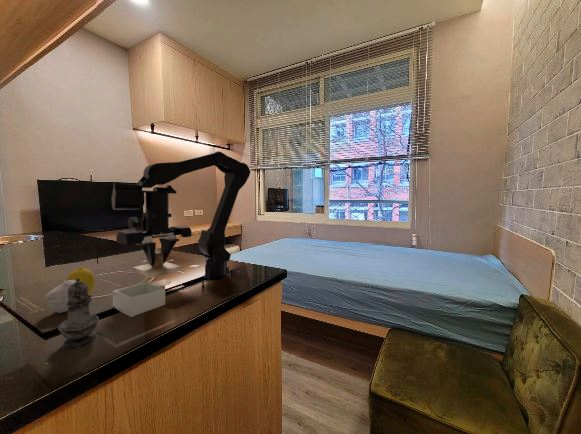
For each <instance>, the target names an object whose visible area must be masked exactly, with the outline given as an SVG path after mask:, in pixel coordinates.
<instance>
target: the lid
mask: <svg viewBox="0 0 581 434" xmlns="http://www.w3.org/2000/svg"><path fill="white" fill-rule="evenodd" d="M180 271H182V266H181V265H178V264H176V263H175V264H174V263H172V262H168V261H166V262H165V263H164V264H163V252H161V251H155V260H154V265H153V266H150V264H149V263H147V264H146V263H145V264H142V265H137V266H132V273H135V274H139V275H141V276H144V277H147V278H149V279H153V278H158V277H161V276H164V275H168V274H172V273H176V272H177V273H178V272H180Z"/></svg>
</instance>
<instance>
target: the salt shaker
mask: <svg viewBox="0 0 581 434" xmlns="http://www.w3.org/2000/svg"><path fill="white" fill-rule="evenodd" d="M79 280H80V279H79V278H77V279H76V280H75V281H76V282H75V283H73V284H72V285H70V286H69V287H68V303H66V306H67V307H68V312H67V318H66V320H63V321H62V322H61V323H60V324H58V326H57V330H58V331H59V332H60V334H61V336H62V337H63V338H64V339H65V340H63V341H62V342H61V343H60V348H61V349H63V350H76V349H81V348H84V347H86V346H90V345H91V344H92V343H94V342H96V341H97V339H98V337H99V336H98V334H97V333H96V332H94V331H95V329H96V328H97V326H98V322H99V320H100V318H99V316H97V315H94V314H91V313H90V303H91V302H92V301H91V299H90V298H89V293H88V286H87V284H86V283H84V282H79Z"/></svg>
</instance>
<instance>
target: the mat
mask: <svg viewBox="0 0 581 434" xmlns="http://www.w3.org/2000/svg"><path fill="white" fill-rule="evenodd" d="M171 282H173V280H172V281H171V280H169V279H165V278H163V279H159V280H156V281H152V282H151V283H152V284H154V285H157V286H160V287H162V288H165V286H166V285H169V284H171ZM180 285H181V286H178V287H175V288H172V289H169V290H167V291H165V294H166V293H167V292H168V293H169V292H172V291H174V290H178V289H181V288H183V287H185V285H182V284H180Z"/></svg>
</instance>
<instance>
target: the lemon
mask: <svg viewBox="0 0 581 434" xmlns="http://www.w3.org/2000/svg"><path fill="white" fill-rule="evenodd" d="M77 278H79V279H80V280H79V282H84V283H86V284H87V286H88V294H89V293H91V292H92V291H93V289H94V287H95V283H96V280H95V276H94V274H93V271H91V270H89V269H88V268H84V267H81V266H80V267H78V268H77V269H74V270H73V271H72V272H70V274H69V275H68V277H67V280H66V281H68V280H76V279H77Z"/></svg>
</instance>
